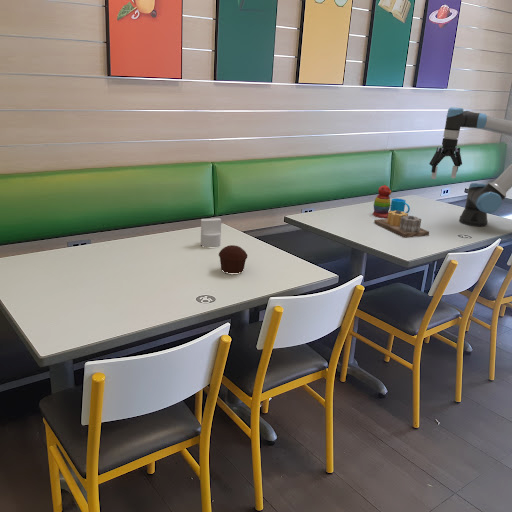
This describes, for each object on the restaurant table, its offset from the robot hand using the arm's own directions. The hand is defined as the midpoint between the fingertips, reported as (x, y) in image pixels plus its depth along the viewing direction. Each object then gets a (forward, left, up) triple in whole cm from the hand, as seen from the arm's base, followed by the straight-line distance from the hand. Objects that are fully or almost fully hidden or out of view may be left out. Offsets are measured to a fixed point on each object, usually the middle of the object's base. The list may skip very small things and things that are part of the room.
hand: (443, 178), depth 273 cm
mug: (+4, -26, -27) cm, 38 cm away
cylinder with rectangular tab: (+131, +2, -27) cm, 134 cm away
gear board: (+24, +1, -27) cm, 36 cm away
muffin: (+132, +34, -27) cm, 139 cm away
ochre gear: (+24, -3, -25) cm, 35 cm away
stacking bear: (+18, -25, -27) cm, 41 cm away
